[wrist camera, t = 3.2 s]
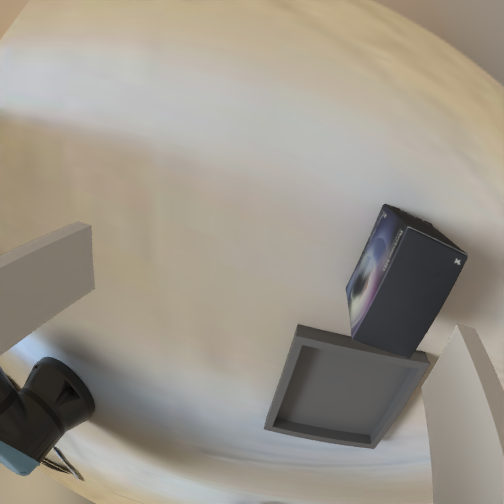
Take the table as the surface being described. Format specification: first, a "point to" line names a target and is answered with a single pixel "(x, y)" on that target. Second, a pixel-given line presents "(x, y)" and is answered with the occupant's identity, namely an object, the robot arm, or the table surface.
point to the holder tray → (341, 389)
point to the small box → (401, 282)
